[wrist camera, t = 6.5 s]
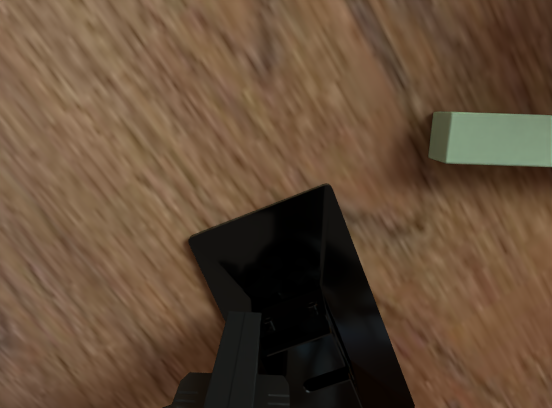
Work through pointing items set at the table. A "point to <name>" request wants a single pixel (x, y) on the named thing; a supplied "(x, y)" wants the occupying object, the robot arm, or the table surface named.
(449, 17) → the table surface
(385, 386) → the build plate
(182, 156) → the table surface
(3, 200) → the table surface
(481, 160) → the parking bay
